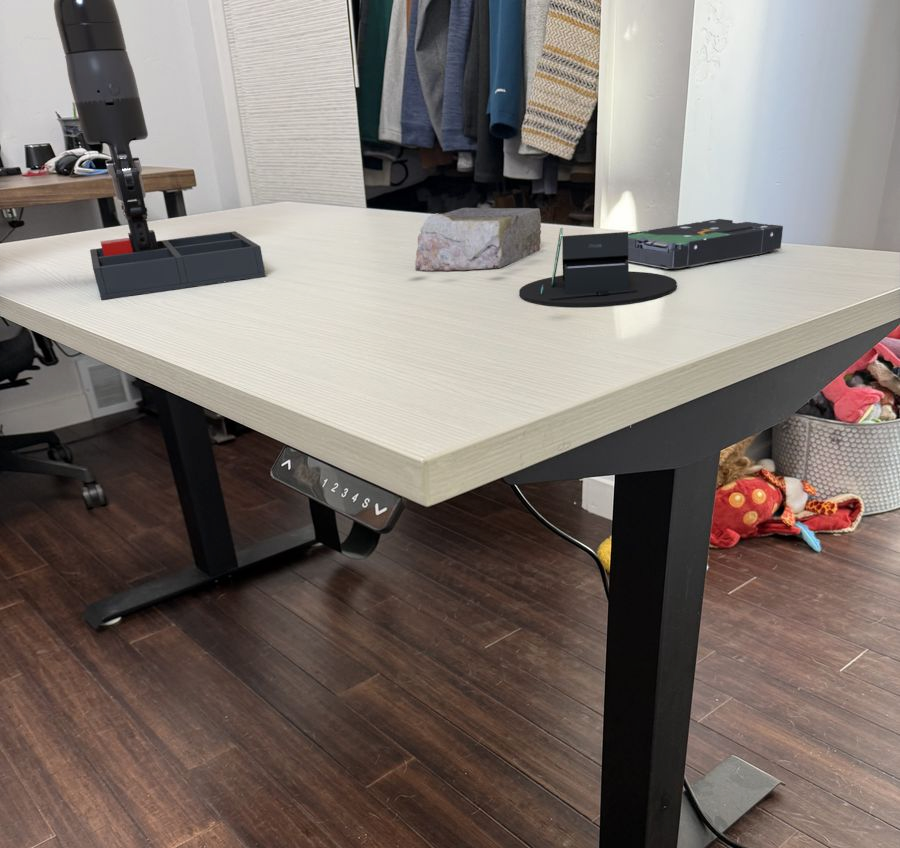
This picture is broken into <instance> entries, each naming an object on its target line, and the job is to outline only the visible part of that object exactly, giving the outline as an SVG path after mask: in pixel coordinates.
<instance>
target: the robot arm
mask: <svg viewBox="0 0 900 848" xmlns="http://www.w3.org/2000/svg"><path fill="white" fill-rule="evenodd" d="M53 11H54V18H55V22H56V26H57V30H58V34H59V37H60V42H61V46H62V49H63V53H64V58H65V63H66V71H67V77H68V81H69V85H70V89H71V93H72V97H73V101H74V105H75V109H76V112H77V116H78V121H79V125H80V128H81V132H82V135H83V138H84V141H85V143H86V144H88V145H100V144H105V145H107V147H108V149H109V154H110V159H108V160H105V165H106V170H107V173H108V175H109V176H110V178H111V181H112V185H113V190H114V193H115V196H116V199H117V200H118V201H119V202H120V203H121V205H120V207H121V210H122V211H123V212H122V213H123V216H124V218H125V220H126V221H127V224H128V229H129V233H131V234H132V238H133V242H134V246H135V250H136V251H137V252H141V251H148V250H153V245H152V241H151V237H150V233H149V230H150V229H149V225H148V216H149V215H148V208H147V207H146V204H145V198H146V189H145V186H144V182H143V177H142V171H143V168H142V164H141V161H140V157H138V156H137V157H135V156H134V157H133V154H132V151H131V147H130V144H131V142H134V141H142V140H146V139H147V138H148V136H149V133H148V132H149V131H148V129H147V124H146V120H145V115H144V111H143V106H142V102H141V97H140V93H139V89H138V84H137V80H136V76H135V72H134V68H133V66H132V63H131V60H130V56H129V55H128V51H127V45H126V41H125V37H124V32H123V29H122V25H121V20H120V16H119V12H118V10H117V7H116V3H115V0H54V1H53Z"/></svg>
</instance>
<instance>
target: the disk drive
mask: <svg viewBox="0 0 900 848" xmlns="http://www.w3.org/2000/svg"><path fill="white" fill-rule="evenodd" d="M733 221H734V220H733V219H724V218H717V219H709V220H703V221H696V222H691V223H684V224H679V225H673V226H668V227H661V228H655V229H649V230H641V231H635V232H628V263H629V262H631V263H635V264H640V265H644V266H645V265H646V266H651V267H655V268H656V267H657V268H663V269H666V270H667V269H668V270H669V269H683V268H687V267H688V268H689V267H691V268H693V267H699V266H704V265H707V264H710V263H715V262H724V261H731V260H737V259H742V258H747V257H752V256H759V255H762V254H764V255H765V254H766V253H769V252H774V251H775V250H777V249H778V250H779V249H781V248H782V240H783V239H782V238H783V230H784V226H783V225H778V224H768V223H758V222H753V221H744V222H733Z"/></svg>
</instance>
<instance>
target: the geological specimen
mask: <svg viewBox="0 0 900 848" xmlns="http://www.w3.org/2000/svg"><path fill="white" fill-rule="evenodd" d="M541 228H542V216H541V209H540V208H531V207H516V208H514V207H513V208H512V207H509V208H508V207H507V208H505V207H500V208H498V207H461V208H458V209H454V210H452V211H448V212H444V213H438V212H436V213H435V214H430V215H428V217H427V219H426V220H425V221H424V223H423V224H422V226H421V228H420V233H419V234H418V236H417V249H416V254H415V255H416V259H415V263H414V264H415V266H414V270H415V271H416V272H417V271H418V272H419V271H420V272H426V273H427V272H433V271H445V272H450V271H470V270H482V269H484V270H485V269H501V268H503V267H505V266H507V265H510V264H513V263H515V262H519V261H520V260H523V259H525V258H527V257H528V256H532V255H533V254H535V253H537V252H539V251H540V249H541V241H542V239H541V234H542V230H541Z"/></svg>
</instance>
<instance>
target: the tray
mask: <svg viewBox="0 0 900 848" xmlns="http://www.w3.org/2000/svg"><path fill="white" fill-rule="evenodd" d="M157 245H158V249H156V250H148V251H141V252H133V253H125V254H117V255H110V256H104V254H103V250H102V247H98V248H91V249H90V250H89V253H90V258H91V265H92V270H93V275H94V278H95V282H96V285H97V289H98V293H99V295H100V296H99V297H100V299H101V301H103V300H104V301H105V300H110V299H117V298H123V297H133V296H139V295H146V294H152V293H151V292H153V293H159V292H158V291H160V292H166V291H165V290H167V291H172V290H171V289H174V290H180V289H179V288H182V289H186V288H185V287H189V288H193V287H192V286H196V287H199V286H198V285H203V286H206V285H205V284H210V285H213V284H212V283H217V284H219V283H218V282H224V281H231V282H233V281H232V280H238V281H241V280H240V279H245V280H249V279H248V278H252V279H255V278H254V277H259V278H265V277H266V270H265V265H264V264H265V263H264V260H263V259H264V258H263V253H262V248H261V245H259V244H257V243H255V242H254V241H252V240H251V239H249V238H248V237H246V236H244V235H242V234H240V233H239V232H237V231H236V230H233V231H226V232H218V233H209V234H202V235H194V236H186V237H179V238H178V237H177V238H171V239H170V238H169V239H163V240H157ZM264 276H265V277H264ZM224 283H225V282H224ZM145 293H146V294H145Z"/></svg>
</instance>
